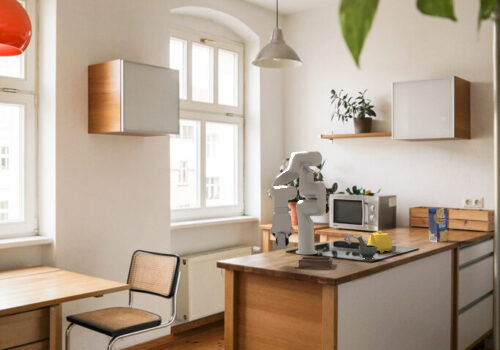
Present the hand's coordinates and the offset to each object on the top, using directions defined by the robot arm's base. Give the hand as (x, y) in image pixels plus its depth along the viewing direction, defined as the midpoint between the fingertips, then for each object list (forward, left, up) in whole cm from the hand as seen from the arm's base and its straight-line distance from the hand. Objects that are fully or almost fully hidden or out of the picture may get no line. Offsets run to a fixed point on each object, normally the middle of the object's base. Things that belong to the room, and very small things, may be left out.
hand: (282, 244), depth 272 cm
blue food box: (-99, +89, -10) cm, 133 cm away
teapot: (-47, +50, -10) cm, 69 cm away
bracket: (-77, +38, -10) cm, 87 cm away
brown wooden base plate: (+5, +18, -10) cm, 21 cm away
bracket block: (0, 0, -2) cm, 2 cm away
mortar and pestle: (-22, +43, -10) cm, 49 cm away
